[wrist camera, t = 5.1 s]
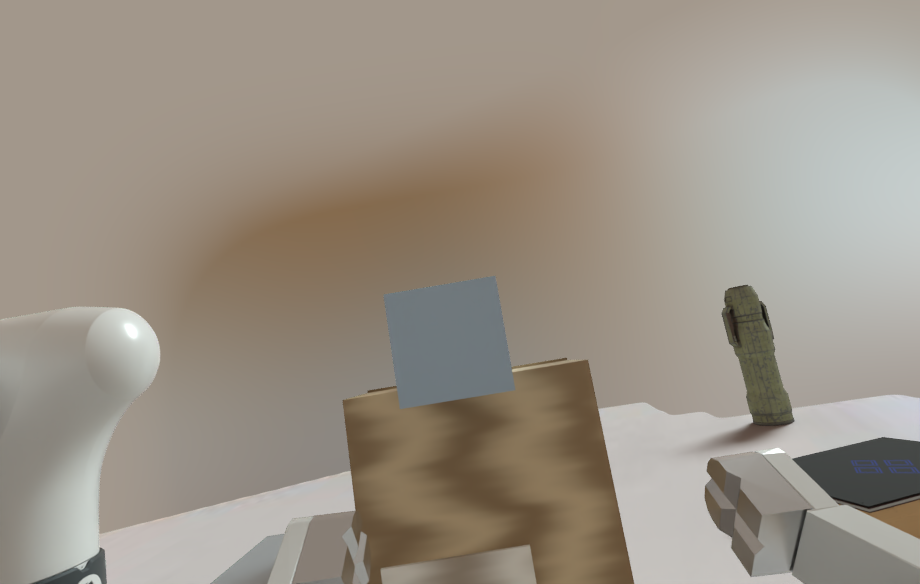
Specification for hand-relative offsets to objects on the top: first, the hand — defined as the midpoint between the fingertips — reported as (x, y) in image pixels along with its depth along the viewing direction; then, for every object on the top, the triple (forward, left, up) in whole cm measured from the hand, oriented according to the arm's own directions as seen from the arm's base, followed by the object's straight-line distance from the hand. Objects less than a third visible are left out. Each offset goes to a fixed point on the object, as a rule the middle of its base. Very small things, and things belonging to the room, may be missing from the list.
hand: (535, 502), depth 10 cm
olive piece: (+70, +109, -24) cm, 131 cm away
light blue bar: (-2, +18, +3) cm, 18 cm away
